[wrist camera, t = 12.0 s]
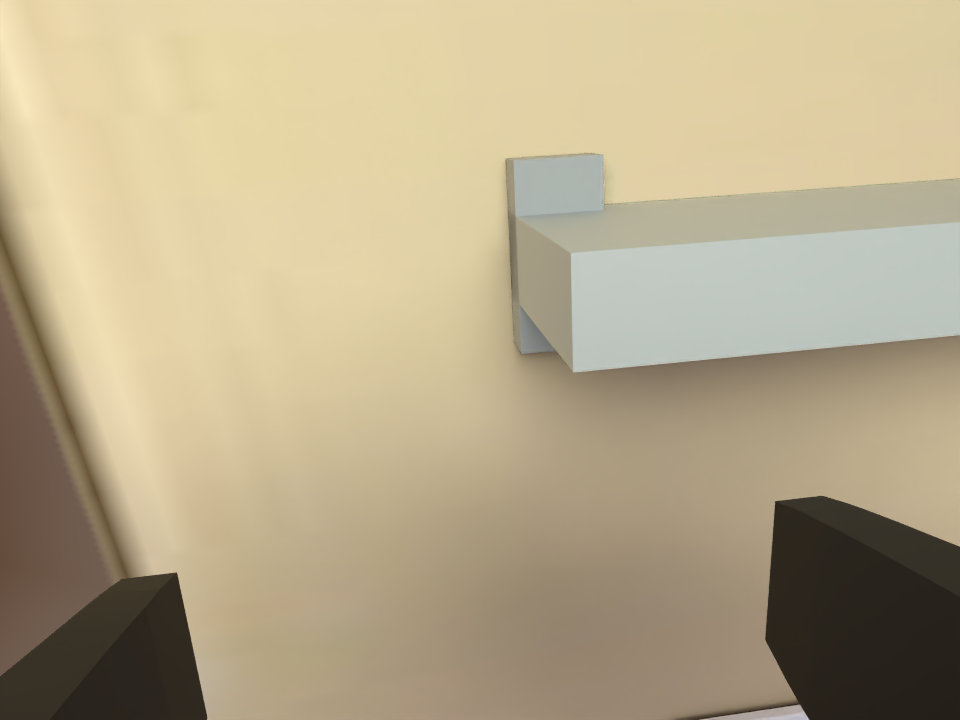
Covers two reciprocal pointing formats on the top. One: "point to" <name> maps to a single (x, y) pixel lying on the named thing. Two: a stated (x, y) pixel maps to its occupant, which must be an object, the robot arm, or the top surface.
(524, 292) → the light grey drawer handle
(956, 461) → the top surface
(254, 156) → the top surface
